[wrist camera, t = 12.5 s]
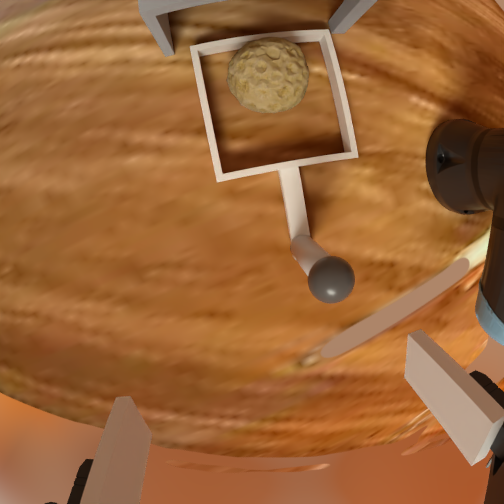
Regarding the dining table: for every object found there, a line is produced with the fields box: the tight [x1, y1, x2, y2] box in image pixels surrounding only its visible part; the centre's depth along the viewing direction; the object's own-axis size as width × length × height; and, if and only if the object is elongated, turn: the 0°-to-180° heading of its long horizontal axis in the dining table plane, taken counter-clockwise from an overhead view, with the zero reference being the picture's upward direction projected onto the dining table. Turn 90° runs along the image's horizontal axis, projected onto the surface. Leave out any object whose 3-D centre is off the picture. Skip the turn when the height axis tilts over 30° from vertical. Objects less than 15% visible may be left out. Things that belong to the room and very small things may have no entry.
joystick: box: [190, 29, 358, 303], centre depth 30 cm, size 30×18×15 cm, turn 11°
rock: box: [227, 37, 309, 113], centre depth 32 cm, size 10×11×10 cm
